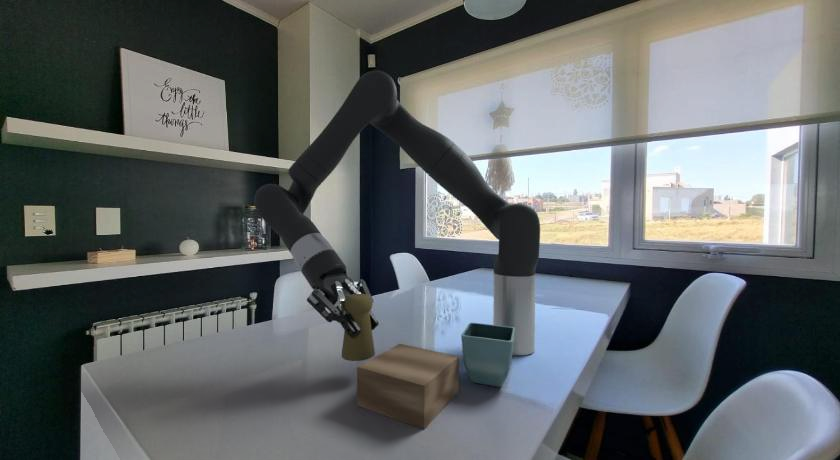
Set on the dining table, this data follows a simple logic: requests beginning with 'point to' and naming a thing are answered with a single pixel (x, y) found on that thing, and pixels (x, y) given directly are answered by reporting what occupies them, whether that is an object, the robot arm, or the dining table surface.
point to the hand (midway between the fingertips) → (366, 330)
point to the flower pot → (487, 352)
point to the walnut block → (408, 384)
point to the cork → (363, 342)
